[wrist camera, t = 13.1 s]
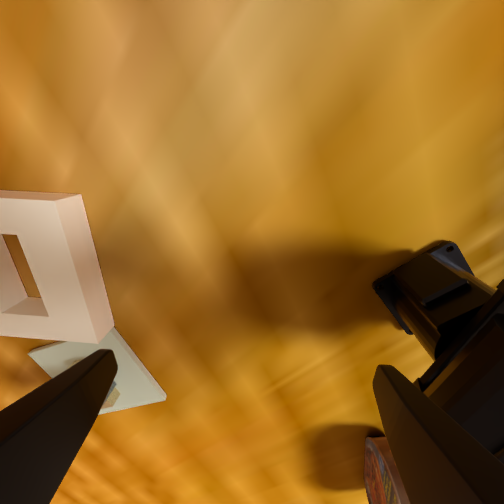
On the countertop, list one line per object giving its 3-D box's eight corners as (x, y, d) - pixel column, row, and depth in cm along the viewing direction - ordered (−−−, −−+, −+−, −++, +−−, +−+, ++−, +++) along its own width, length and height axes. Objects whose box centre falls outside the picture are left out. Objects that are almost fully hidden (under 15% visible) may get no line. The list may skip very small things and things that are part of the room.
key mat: (112, 324, 24) (108, 328, 23) (167, 395, 28) (164, 400, 27) (32, 349, 26) (27, 353, 26) (93, 411, 30) (90, 416, 30)
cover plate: (81, 194, 19) (54, 200, 16) (114, 325, 24) (98, 343, 22) (-62, 187, 19) (-106, 192, 17) (2, 315, 25) (-26, 333, 22)
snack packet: (365, 420, 27) (403, 528, 19) (395, 419, 27) (445, 530, 19) (362, 488, 33) (390, 592, 25) (386, 488, 33) (421, 594, 25)
